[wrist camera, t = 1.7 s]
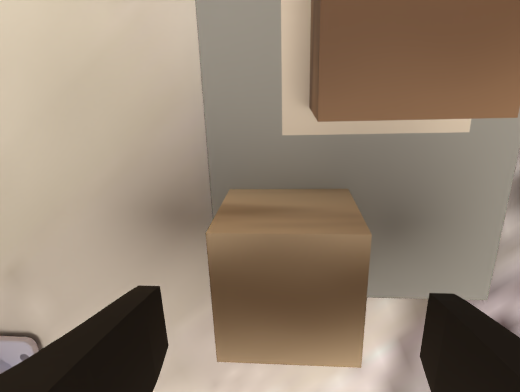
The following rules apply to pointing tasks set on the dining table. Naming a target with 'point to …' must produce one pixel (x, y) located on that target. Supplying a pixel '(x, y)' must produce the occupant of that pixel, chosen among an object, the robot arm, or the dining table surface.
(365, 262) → the maple block
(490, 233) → the board
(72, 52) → the dining table surface
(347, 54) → the walnut block
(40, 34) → the dining table surface
